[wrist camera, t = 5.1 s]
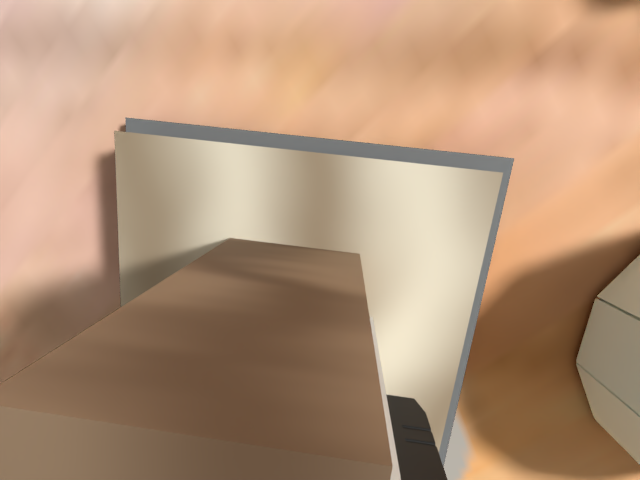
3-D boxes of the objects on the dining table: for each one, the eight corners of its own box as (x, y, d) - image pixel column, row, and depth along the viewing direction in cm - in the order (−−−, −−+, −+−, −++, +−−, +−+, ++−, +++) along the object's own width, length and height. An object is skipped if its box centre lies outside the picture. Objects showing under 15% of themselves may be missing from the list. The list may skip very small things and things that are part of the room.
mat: (141, 424, 18) (132, 436, 17) (137, 120, 15) (125, 117, 14) (434, 471, 17) (439, 485, 17) (504, 159, 14) (514, 158, 13)
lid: (138, 428, 16) (-168, 818, 7) (131, 133, 13) (-491, 43, 3) (424, 472, 16) (553, 981, 6) (490, 171, 12) (1021, 201, 3)
